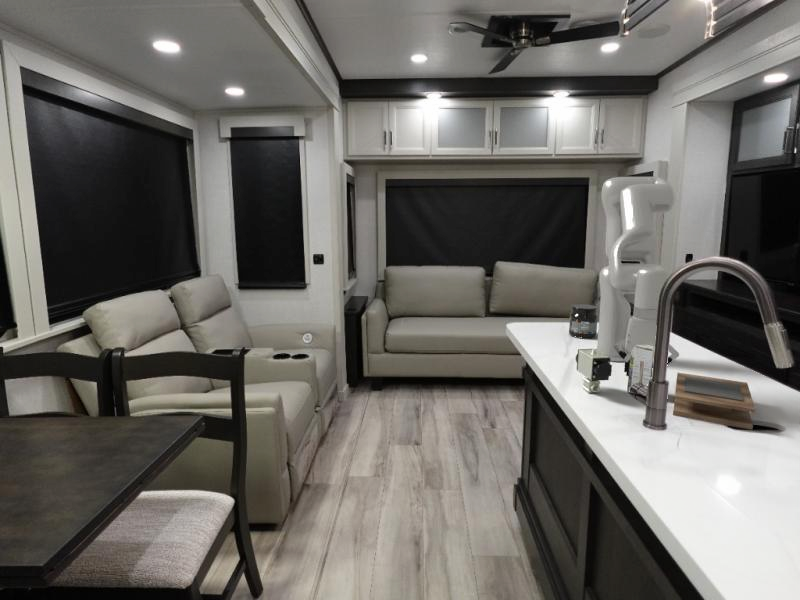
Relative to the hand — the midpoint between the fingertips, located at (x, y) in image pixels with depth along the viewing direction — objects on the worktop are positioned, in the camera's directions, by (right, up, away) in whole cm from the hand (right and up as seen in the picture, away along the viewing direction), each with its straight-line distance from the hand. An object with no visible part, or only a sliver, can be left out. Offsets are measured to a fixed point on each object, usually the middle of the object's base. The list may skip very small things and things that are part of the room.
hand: (642, 376), depth 133 cm
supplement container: (+6, +7, +61) cm, 62 cm away
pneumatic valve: (-13, -5, +3) cm, 14 cm away
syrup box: (0, -5, +1) cm, 5 cm away
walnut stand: (+13, -6, -9) cm, 17 cm away
